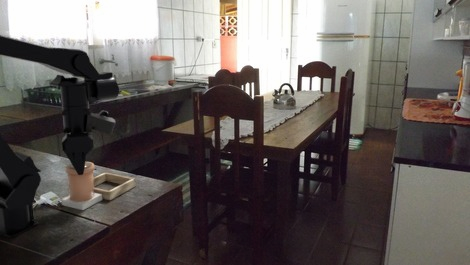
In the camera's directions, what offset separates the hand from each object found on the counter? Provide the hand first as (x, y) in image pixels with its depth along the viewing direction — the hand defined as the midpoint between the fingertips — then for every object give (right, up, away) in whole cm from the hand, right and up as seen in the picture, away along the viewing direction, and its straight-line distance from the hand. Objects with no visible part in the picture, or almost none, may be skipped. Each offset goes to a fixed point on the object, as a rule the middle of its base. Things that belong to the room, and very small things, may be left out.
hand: (80, 168), depth 89 cm
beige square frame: (+3, -7, +10) cm, 13 cm away
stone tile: (0, -9, +2) cm, 9 cm away
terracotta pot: (0, -7, +2) cm, 7 cm away
